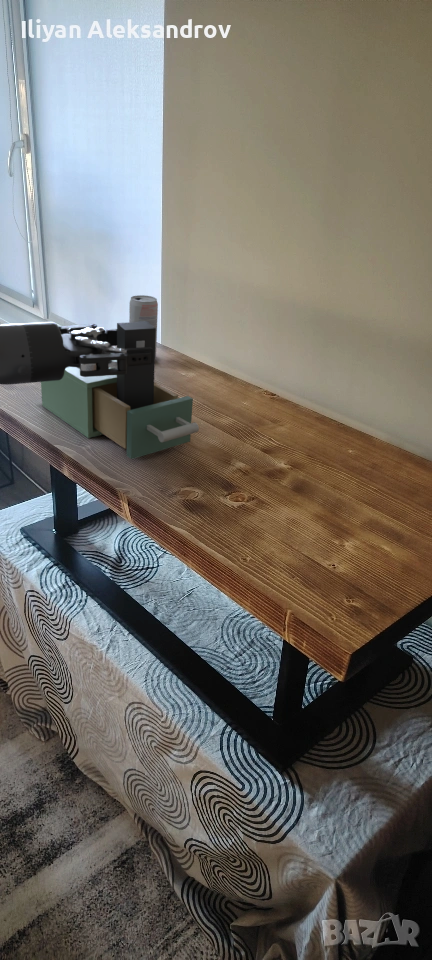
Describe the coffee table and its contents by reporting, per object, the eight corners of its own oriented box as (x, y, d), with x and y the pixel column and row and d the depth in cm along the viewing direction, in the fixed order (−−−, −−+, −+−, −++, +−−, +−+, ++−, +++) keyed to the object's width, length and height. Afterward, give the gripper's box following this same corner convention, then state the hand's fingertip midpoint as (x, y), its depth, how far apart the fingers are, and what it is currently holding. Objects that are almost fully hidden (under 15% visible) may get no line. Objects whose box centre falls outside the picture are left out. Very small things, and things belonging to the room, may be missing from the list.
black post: (112, 421, 93) (111, 321, 86) (145, 417, 95) (147, 319, 88) (123, 435, 89) (124, 332, 82) (157, 431, 91) (161, 330, 84)
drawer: (208, 452, 89) (212, 408, 86) (149, 472, 83) (150, 425, 79) (138, 410, 100) (139, 370, 97) (81, 425, 94) (80, 382, 90)
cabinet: (152, 421, 99) (153, 369, 95) (88, 438, 92) (87, 383, 88) (103, 392, 108) (103, 343, 104) (42, 405, 101) (39, 354, 97)
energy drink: (139, 353, 127) (140, 293, 121) (161, 359, 125) (163, 298, 119) (123, 359, 123) (123, 298, 117) (145, 366, 121) (146, 303, 115)
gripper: (32, 341, 73) (162, 334, 79) (9, 309, 83) (125, 304, 90) (36, 401, 76) (160, 389, 83) (13, 363, 87) (125, 355, 94)
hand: (142, 345), depth 87 cm, fingers open, 8 cm apart
